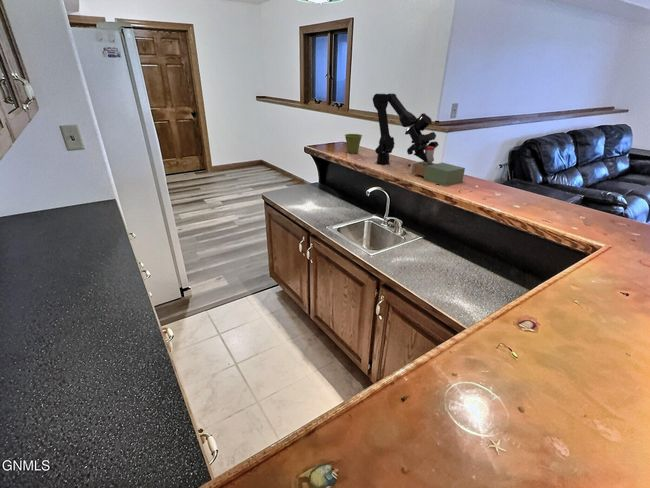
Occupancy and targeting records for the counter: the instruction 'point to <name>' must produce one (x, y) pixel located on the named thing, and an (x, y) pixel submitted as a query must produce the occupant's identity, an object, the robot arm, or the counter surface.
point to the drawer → (417, 168)
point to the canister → (429, 155)
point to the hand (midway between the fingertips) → (430, 161)
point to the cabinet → (444, 173)
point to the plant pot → (353, 142)
